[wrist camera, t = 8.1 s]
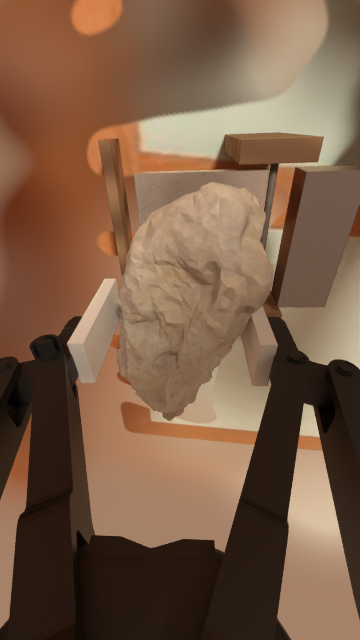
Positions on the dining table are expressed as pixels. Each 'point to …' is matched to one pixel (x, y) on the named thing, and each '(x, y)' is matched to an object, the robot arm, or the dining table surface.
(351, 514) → the robot arm
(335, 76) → the dining table surface
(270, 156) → the frame
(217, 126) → the dining table surface
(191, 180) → the trapdoor
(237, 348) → the dining table surface
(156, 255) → the stone
